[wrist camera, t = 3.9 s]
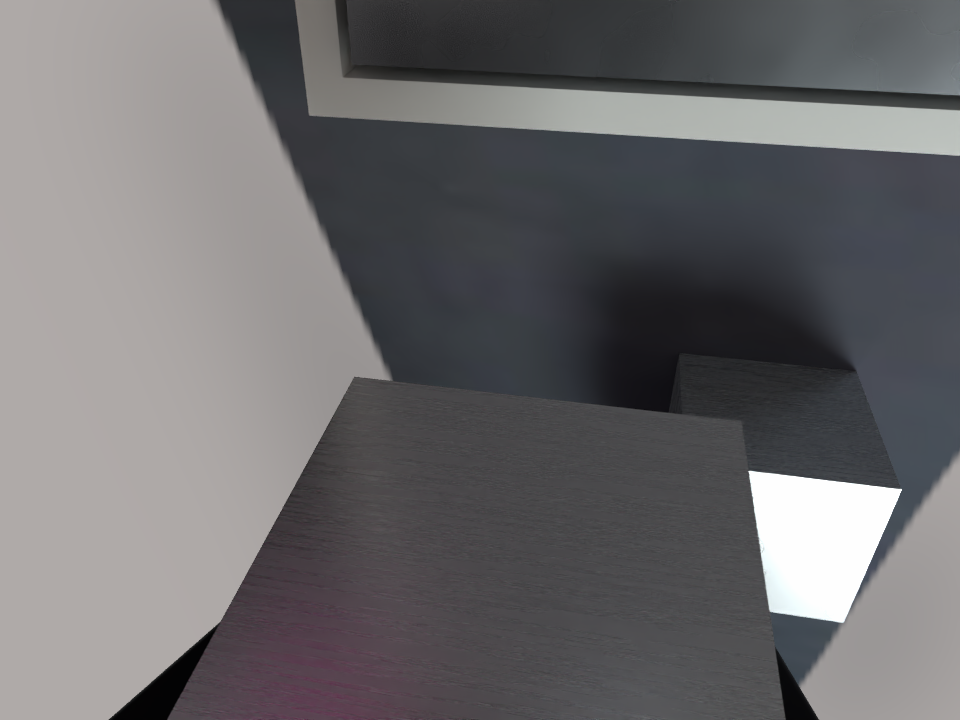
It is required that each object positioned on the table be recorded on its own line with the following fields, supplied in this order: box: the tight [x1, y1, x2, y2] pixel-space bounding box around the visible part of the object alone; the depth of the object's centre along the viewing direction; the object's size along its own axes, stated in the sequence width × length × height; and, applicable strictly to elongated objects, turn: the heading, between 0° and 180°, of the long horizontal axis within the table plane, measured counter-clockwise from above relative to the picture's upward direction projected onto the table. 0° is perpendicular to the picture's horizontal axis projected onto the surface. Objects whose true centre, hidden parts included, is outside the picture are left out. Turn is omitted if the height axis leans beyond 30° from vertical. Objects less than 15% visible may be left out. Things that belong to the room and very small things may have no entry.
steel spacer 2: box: [668, 353, 901, 623], centre depth 20 cm, size 4×4×4 cm
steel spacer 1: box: [167, 377, 786, 720], centre depth 8 cm, size 4×4×4 cm
